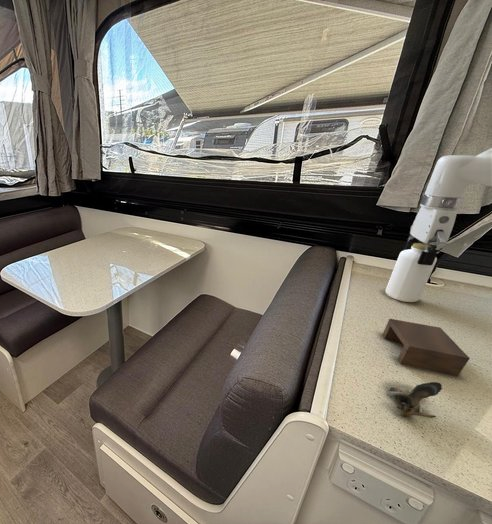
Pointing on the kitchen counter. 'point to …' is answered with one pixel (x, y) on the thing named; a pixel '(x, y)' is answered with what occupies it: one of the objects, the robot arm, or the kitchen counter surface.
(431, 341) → the shelf
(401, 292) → the potion bottle
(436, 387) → the eagle figurine
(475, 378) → the kitchen counter surface
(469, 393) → the kitchen counter surface
